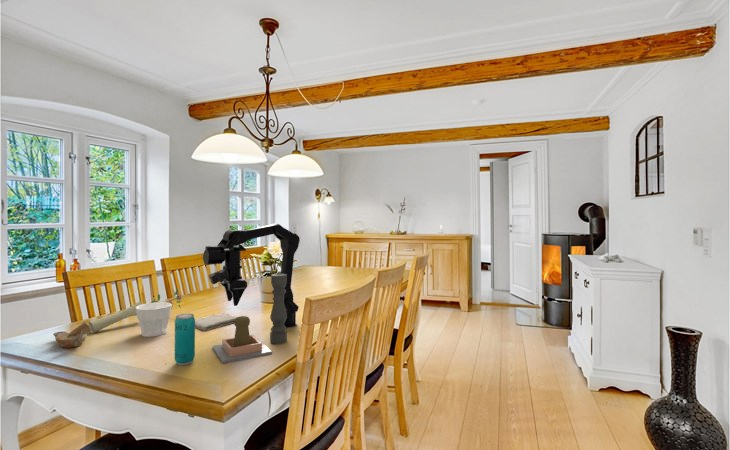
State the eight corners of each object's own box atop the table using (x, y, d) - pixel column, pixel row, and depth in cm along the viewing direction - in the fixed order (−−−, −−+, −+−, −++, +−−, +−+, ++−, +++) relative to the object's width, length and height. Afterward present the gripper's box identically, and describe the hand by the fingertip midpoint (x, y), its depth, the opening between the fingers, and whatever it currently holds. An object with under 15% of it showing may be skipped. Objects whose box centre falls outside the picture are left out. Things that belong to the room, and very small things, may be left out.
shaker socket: (257, 340, 139) (257, 331, 139) (272, 353, 125) (272, 344, 125) (212, 348, 130) (212, 338, 130) (222, 363, 116) (222, 353, 116)
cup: (176, 333, 145) (176, 305, 145) (141, 341, 136) (141, 311, 136) (165, 326, 154) (165, 300, 154) (131, 333, 145) (131, 305, 145)
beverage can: (179, 359, 119) (179, 313, 119) (197, 359, 120) (197, 313, 120) (171, 366, 114) (171, 318, 113) (190, 366, 114) (190, 317, 114)
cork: (245, 352, 124) (245, 319, 124) (229, 350, 125) (229, 318, 125) (254, 346, 130) (254, 315, 130) (238, 344, 131) (238, 314, 131)
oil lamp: (69, 355, 122) (69, 325, 122) (42, 343, 133) (42, 315, 133) (99, 347, 130) (99, 319, 129) (71, 336, 140) (71, 310, 140)
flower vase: (94, 348, 148) (178, 312, 176) (104, 346, 141) (190, 308, 169) (83, 321, 148) (169, 289, 176) (93, 317, 141) (180, 284, 169)
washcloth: (241, 322, 164) (241, 315, 164) (204, 332, 149) (204, 324, 149) (224, 318, 170) (224, 311, 170) (187, 327, 155) (187, 320, 155)
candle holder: (290, 339, 140) (290, 274, 139) (281, 345, 134) (281, 276, 133) (275, 337, 142) (276, 273, 141) (266, 343, 136) (267, 275, 135)
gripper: (205, 261, 145) (205, 301, 145) (215, 267, 129) (215, 311, 130) (234, 260, 151) (234, 297, 151) (247, 265, 136) (247, 307, 136)
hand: (232, 303), depth 142 cm, fingers open, 9 cm apart
